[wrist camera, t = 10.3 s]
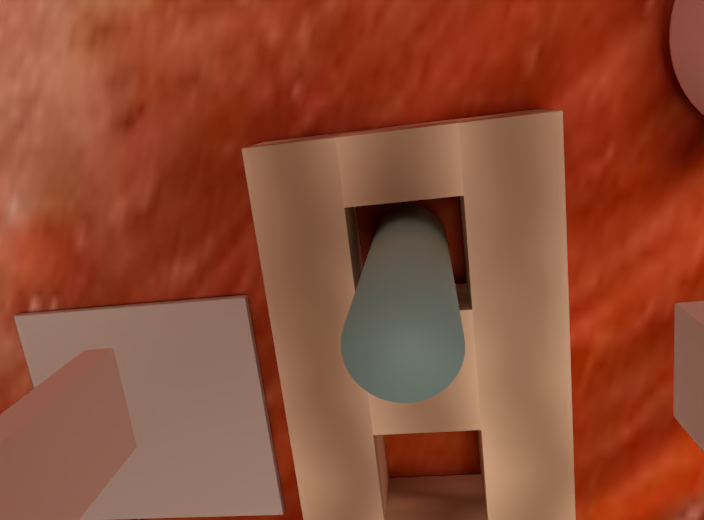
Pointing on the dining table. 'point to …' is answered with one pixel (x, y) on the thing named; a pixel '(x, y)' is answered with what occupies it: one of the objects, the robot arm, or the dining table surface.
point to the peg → (405, 311)
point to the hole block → (474, 304)
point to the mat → (174, 404)
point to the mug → (688, 48)
